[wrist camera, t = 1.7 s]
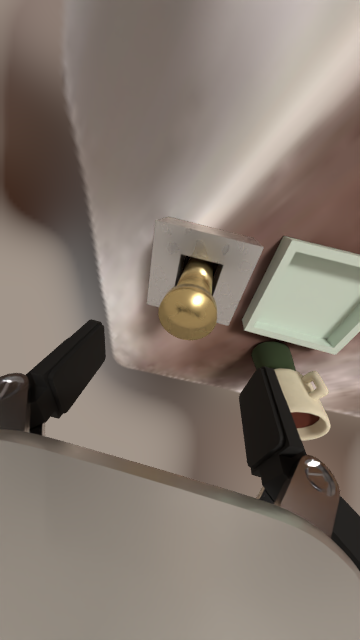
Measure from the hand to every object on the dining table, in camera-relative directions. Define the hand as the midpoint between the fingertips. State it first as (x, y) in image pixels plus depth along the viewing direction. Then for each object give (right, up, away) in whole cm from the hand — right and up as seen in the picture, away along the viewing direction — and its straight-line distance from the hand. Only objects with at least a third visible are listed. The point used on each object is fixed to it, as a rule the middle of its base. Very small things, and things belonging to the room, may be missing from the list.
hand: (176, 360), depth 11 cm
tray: (+19, +6, +15) cm, 24 cm away
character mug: (+17, -3, +21) cm, 27 cm away
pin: (+3, +10, +15) cm, 18 cm away
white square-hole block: (+3, +10, +15) cm, 18 cm away
